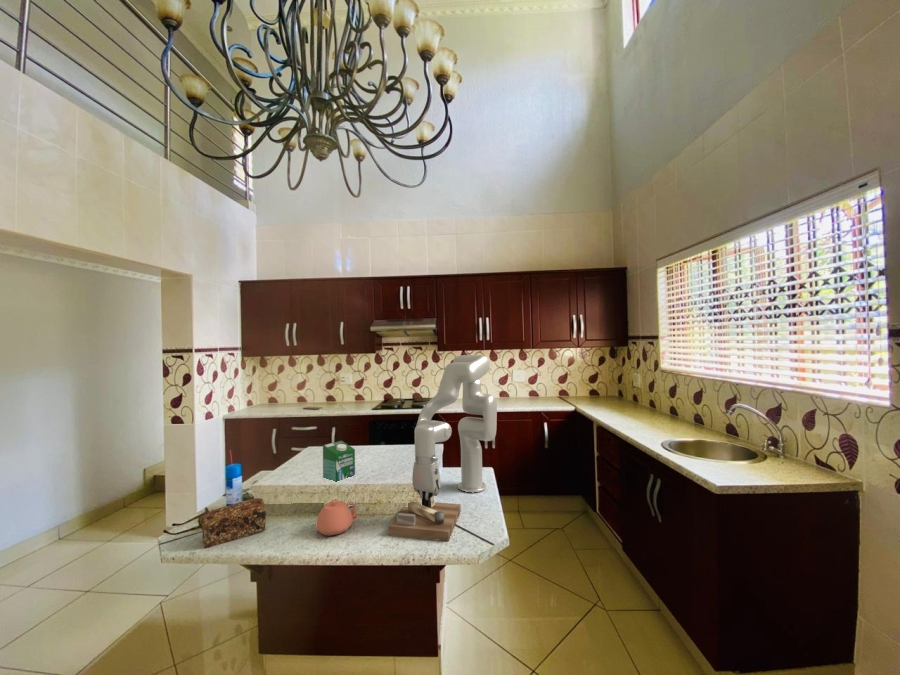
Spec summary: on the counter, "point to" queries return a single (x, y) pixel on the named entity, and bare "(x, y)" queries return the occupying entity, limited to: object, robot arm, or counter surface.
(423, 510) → the folding leg
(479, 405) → the robot arm
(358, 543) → the counter surface
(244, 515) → the bread
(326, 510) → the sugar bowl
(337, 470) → the milk carton
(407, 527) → the wooden board
